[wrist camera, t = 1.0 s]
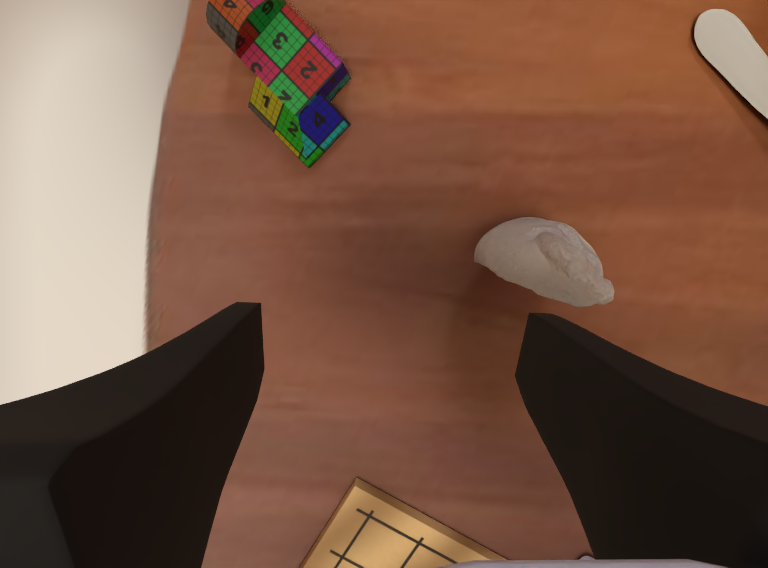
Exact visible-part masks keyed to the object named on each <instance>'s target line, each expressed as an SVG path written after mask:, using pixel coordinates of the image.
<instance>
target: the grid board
mask: <svg viewBox="0 0 768 568" xmlns="http://www.w3.org/2000/svg"><path fill="white" fill-rule="evenodd" d="M473 560H507V559H505V558H503V557H501V556H500V555H498V554H496V553H494V552H492V551H490V550H489V549H487V548H485V547H483V546H481V545H479V544H478V543H476V542H474V541H472V540H470V539H469V538H467V537H465V536H463V535H461V534H459V533H458V532H456V531H454V530H452V529H450V528H448V527H447V526H445V525H443V524H441V523H439V522H437V521H436V520H434V519H432V518H430V517H428V516H426V515H425V514H423V513H421V512H419V511H417V510H415V509H414V508H412V507H410V506H408V505H406V504H404V503H403V502H401V501H399V500H397V499H395V498H394V497H392V496H390V495H388V494H386V493H384V492H383V491H381V490H379V489H377V488H375V487H373V486H372V485H370V484H368V483H366V482H364V481H362V480H361V479H359V478H356V479H355V480H354V482H353V484H352V485H351V487H350V488H349V490H348V492H347V493H346V495H345V496H344V498H343V499H342V501H341V503H340V504H339V506H338V507H337V509H336V511H335V512H334V514H333V515H332V517H331V518H330V520H329V522H328V523H327V525H326V526H325V528H324V529H323V531H322V533H321V534H320V536H319V537H318V539H317V541H316V542H315V544H314V545H313V547H312V548H311V550H310V552H309V553H308V555H307V556H306V558H305V560H304V561H303V563H302V564H301V566H300V567H299V568H433V567H439V566H444V565H450V564H456V563H461V562H467V561H473Z"/></svg>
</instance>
